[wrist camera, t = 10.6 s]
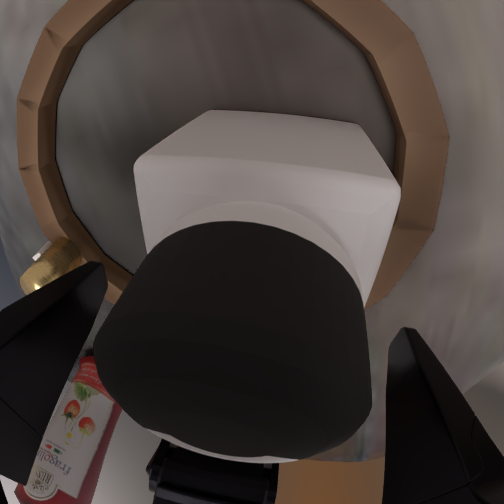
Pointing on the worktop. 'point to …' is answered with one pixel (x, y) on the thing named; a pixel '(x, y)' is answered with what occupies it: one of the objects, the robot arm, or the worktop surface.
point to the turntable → (339, 15)
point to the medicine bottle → (252, 286)
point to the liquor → (73, 443)
